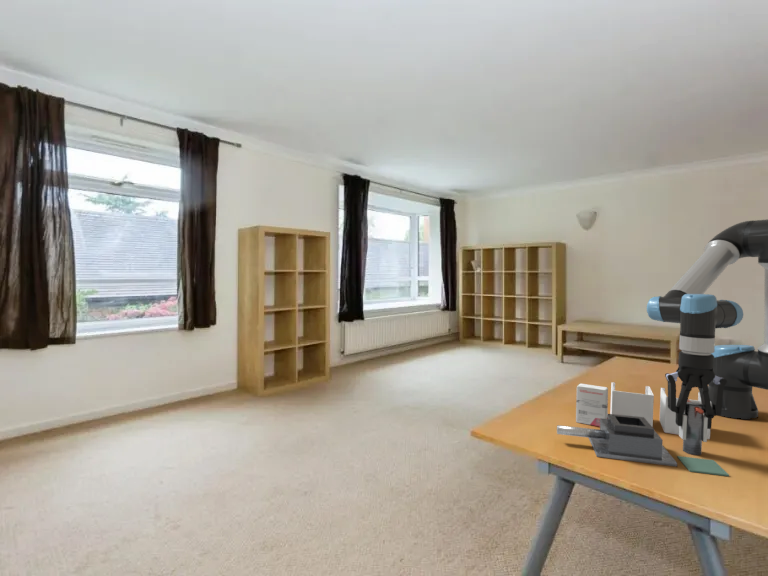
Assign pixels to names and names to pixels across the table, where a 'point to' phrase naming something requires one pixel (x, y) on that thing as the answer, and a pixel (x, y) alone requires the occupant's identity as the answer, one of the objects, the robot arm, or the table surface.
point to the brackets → (646, 407)
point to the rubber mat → (702, 466)
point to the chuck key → (693, 428)
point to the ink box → (591, 404)
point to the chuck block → (624, 440)
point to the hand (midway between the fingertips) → (692, 438)
